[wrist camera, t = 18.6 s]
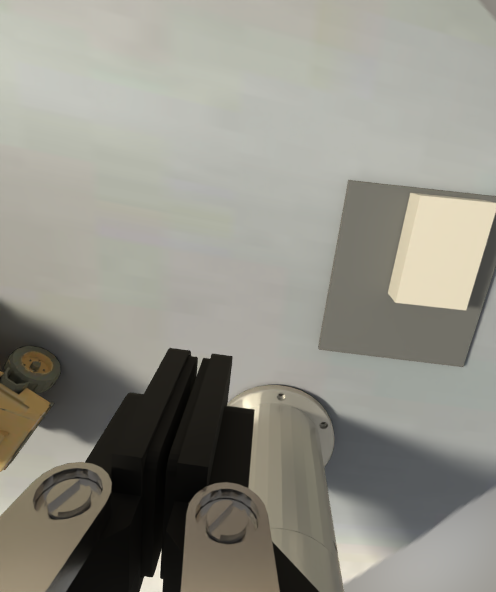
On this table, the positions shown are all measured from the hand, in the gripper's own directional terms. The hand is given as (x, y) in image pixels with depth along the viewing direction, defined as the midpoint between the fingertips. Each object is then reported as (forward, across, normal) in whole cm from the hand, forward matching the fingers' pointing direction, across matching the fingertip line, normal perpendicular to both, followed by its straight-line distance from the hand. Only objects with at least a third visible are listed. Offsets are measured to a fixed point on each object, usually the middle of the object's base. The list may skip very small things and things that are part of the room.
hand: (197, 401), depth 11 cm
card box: (+25, -13, 0) cm, 28 cm away
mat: (+27, -15, +3) cm, 31 cm away
